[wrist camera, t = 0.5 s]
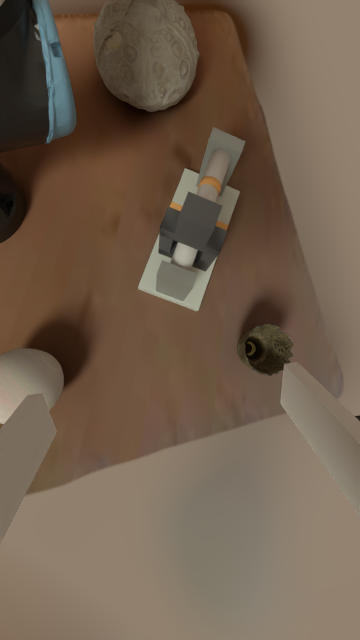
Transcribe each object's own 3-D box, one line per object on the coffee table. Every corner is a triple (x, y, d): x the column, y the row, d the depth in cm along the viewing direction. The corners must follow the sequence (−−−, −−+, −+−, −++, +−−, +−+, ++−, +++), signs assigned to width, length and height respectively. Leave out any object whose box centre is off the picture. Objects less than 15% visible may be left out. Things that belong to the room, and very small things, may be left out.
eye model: (-8, 378, 36) (-69, 392, 26) (45, 334, 37) (7, 331, 28) (35, 425, 36) (-9, 456, 26) (87, 379, 37) (63, 392, 28)
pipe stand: (196, 311, 41) (213, 299, 30) (138, 289, 40) (132, 268, 29) (237, 195, 44) (265, 146, 33) (184, 172, 43) (194, 115, 32)
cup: (219, 351, 41) (235, 352, 33) (243, 319, 42) (264, 313, 34) (251, 377, 41) (274, 386, 33) (274, 345, 42) (303, 346, 34)
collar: (205, 271, 36) (231, 237, 25) (158, 253, 36) (161, 208, 24) (211, 254, 37) (239, 212, 25) (164, 236, 36) (170, 184, 24)
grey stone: (156, 144, 43) (158, 85, 33) (79, 85, 43) (57, 7, 33) (209, 83, 46) (225, 12, 36) (137, 27, 45) (133, -61, 35)
